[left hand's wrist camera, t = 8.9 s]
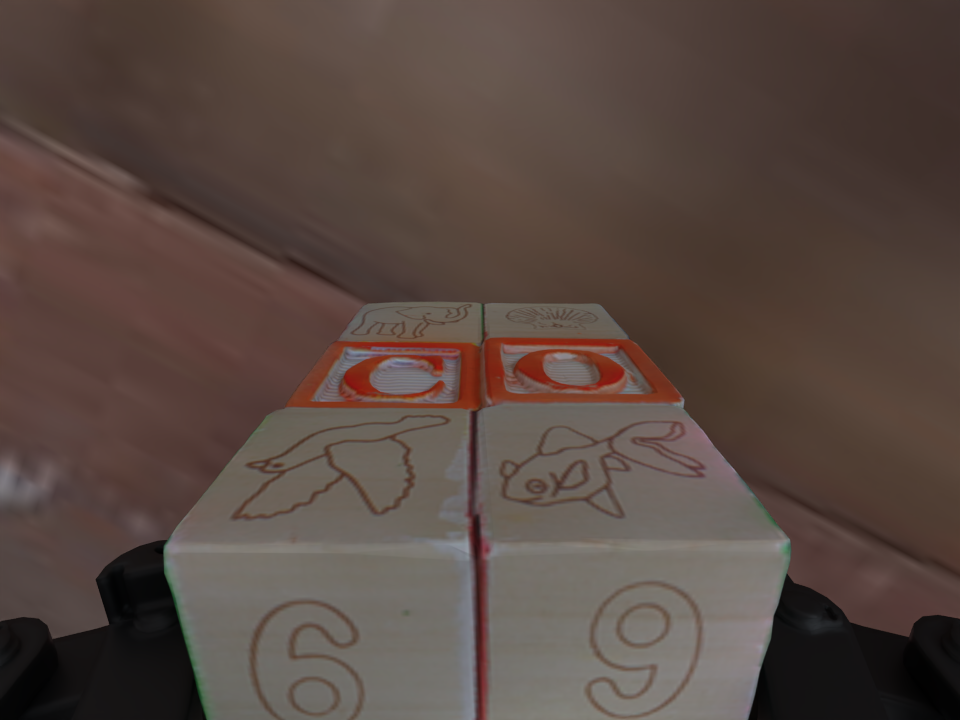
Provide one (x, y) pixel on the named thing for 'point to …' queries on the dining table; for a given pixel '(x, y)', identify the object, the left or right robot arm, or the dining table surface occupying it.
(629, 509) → the stack of blocks
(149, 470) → the dining table surface
